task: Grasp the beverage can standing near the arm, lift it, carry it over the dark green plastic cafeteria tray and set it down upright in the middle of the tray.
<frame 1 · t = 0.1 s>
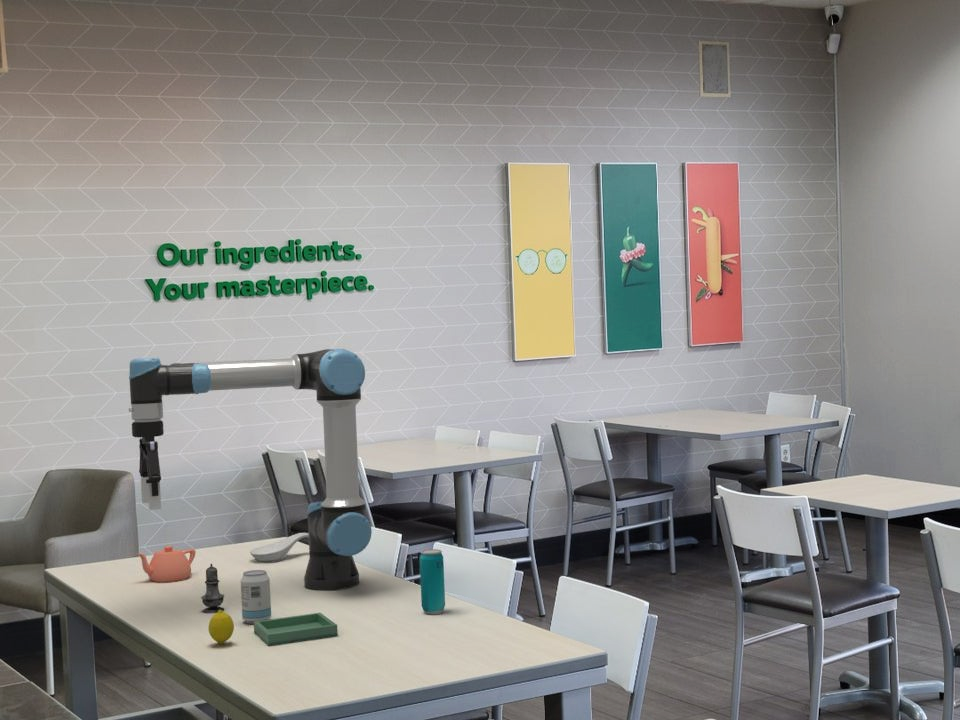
hand: (151, 506, 293), 28 cm above the table, fingers open, 13 cm apart
spoon rest: (288, 559, 369), on the table
fruit: (222, 645, 266), on the table
tray: (295, 634, 273), on the table
beverage can: (257, 622, 286), on the table
teapot: (167, 580, 342), on the table
salt shaker: (213, 611, 300), on the table
beverage can 2: (433, 613, 289), on the table
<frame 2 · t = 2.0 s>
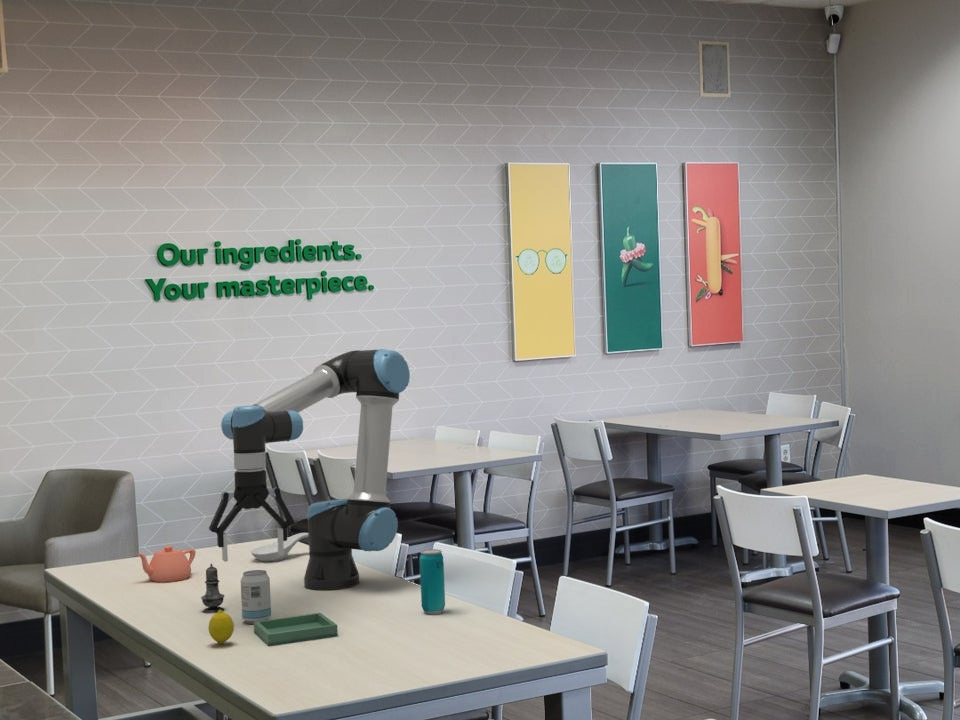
hand: (253, 557, 286), 16 cm above the table, fingers open, 13 cm apart
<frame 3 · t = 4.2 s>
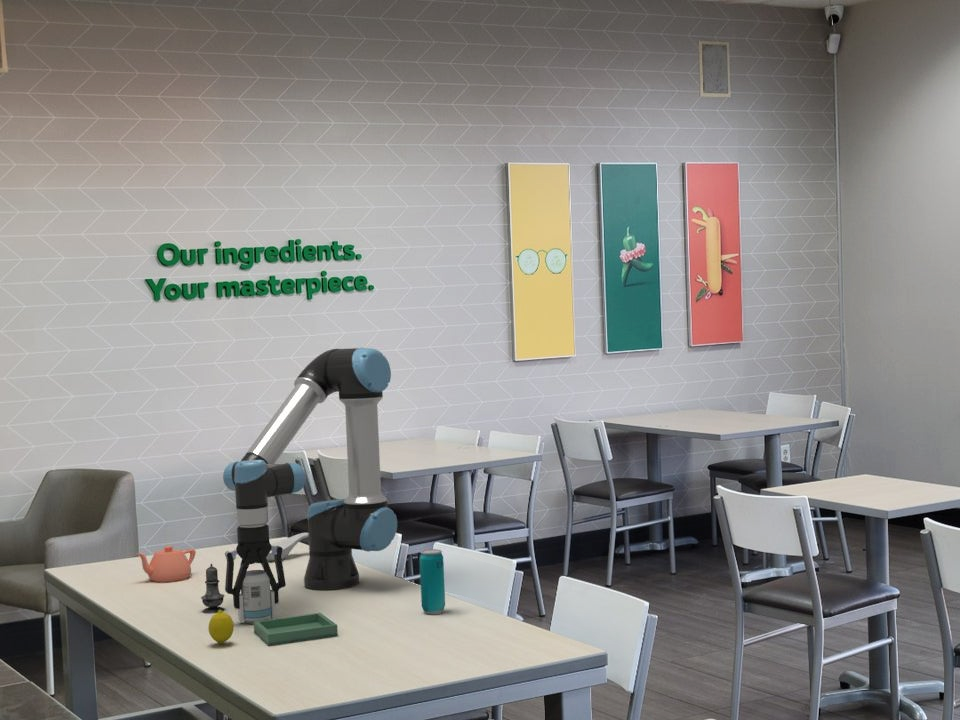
hand: (256, 619, 286), 1 cm above the table, fingers closed on beverage can, 7 cm apart
beverage can: (257, 622, 286), on the table, touching gripper
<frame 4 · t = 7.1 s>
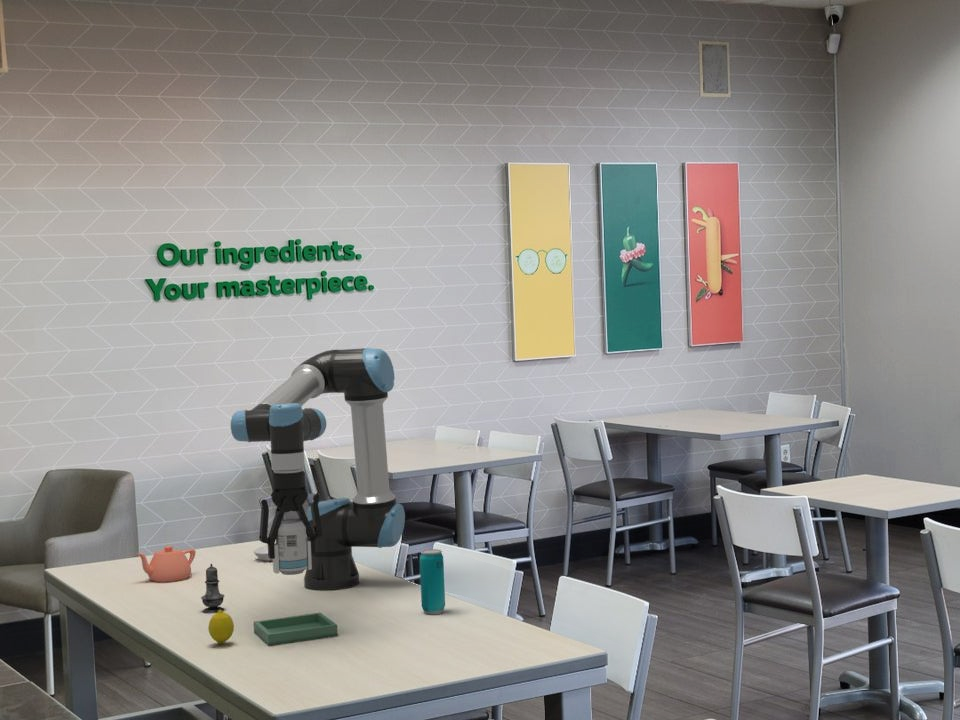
hand: (292, 570, 272), 15 cm above the table, fingers closed on beverage can, 7 cm apart
beverage can: (292, 573, 272), point 14 cm above the table, touching gripper
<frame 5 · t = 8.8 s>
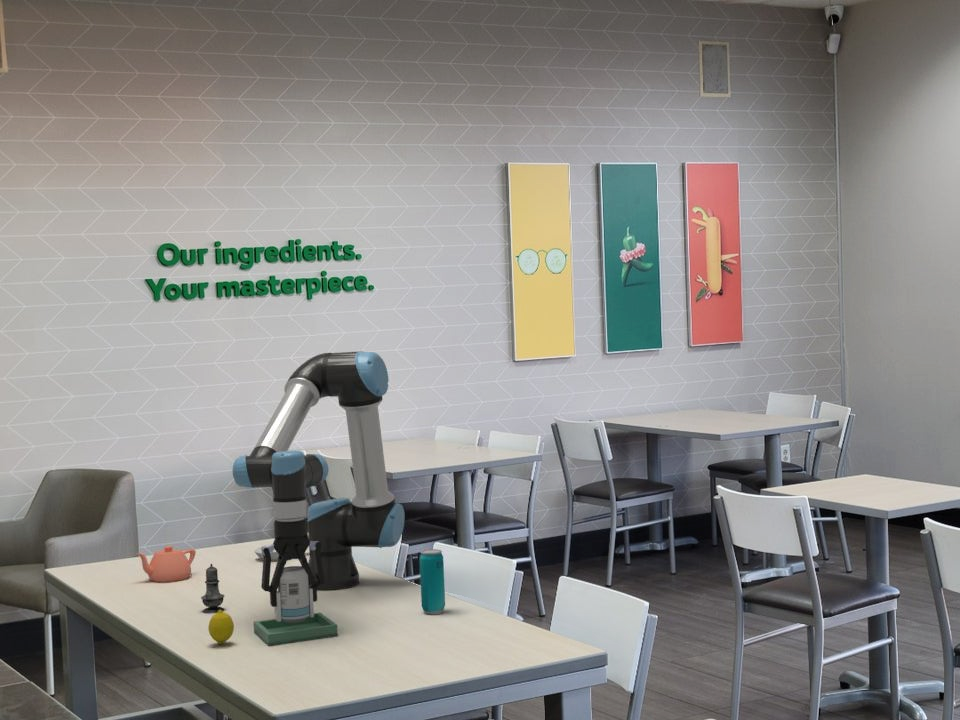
hand: (294, 617, 273), 4 cm above the table, fingers closed on beverage can, 7 cm apart
beverage can: (294, 621, 273), point 3 cm above the table, touching gripper
when the fingers open (2 cm above the table, at t = 10.0 s): beverage can moves 1 cm, resting on tray.
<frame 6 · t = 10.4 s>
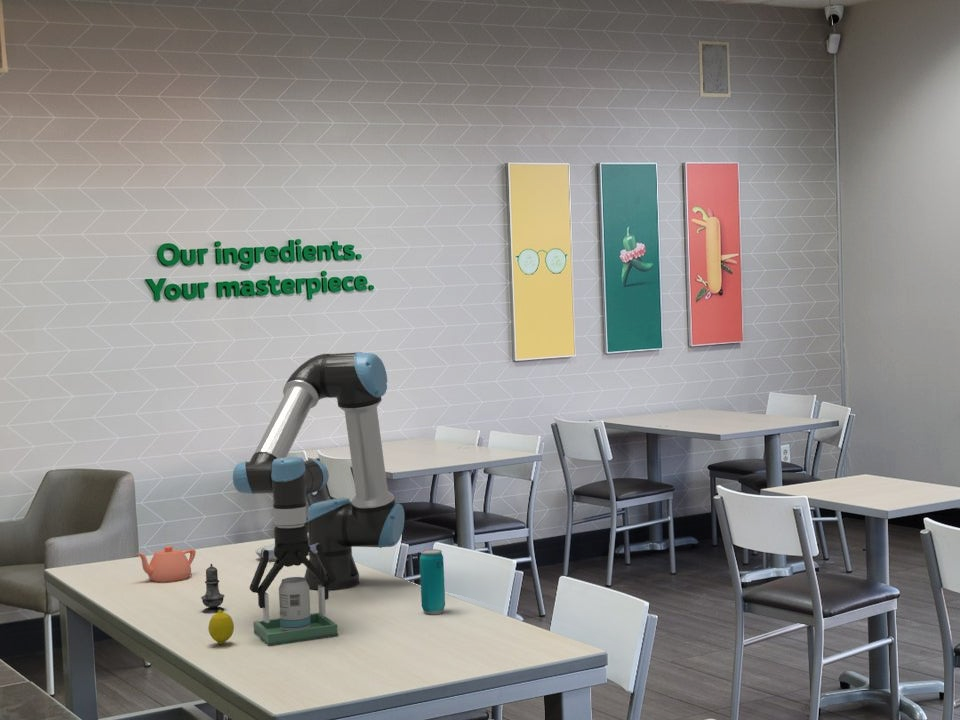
hand: (294, 617, 273), 4 cm above the table, fingers open, 12 cm apart
beverage can: (295, 632, 273), resting on tray
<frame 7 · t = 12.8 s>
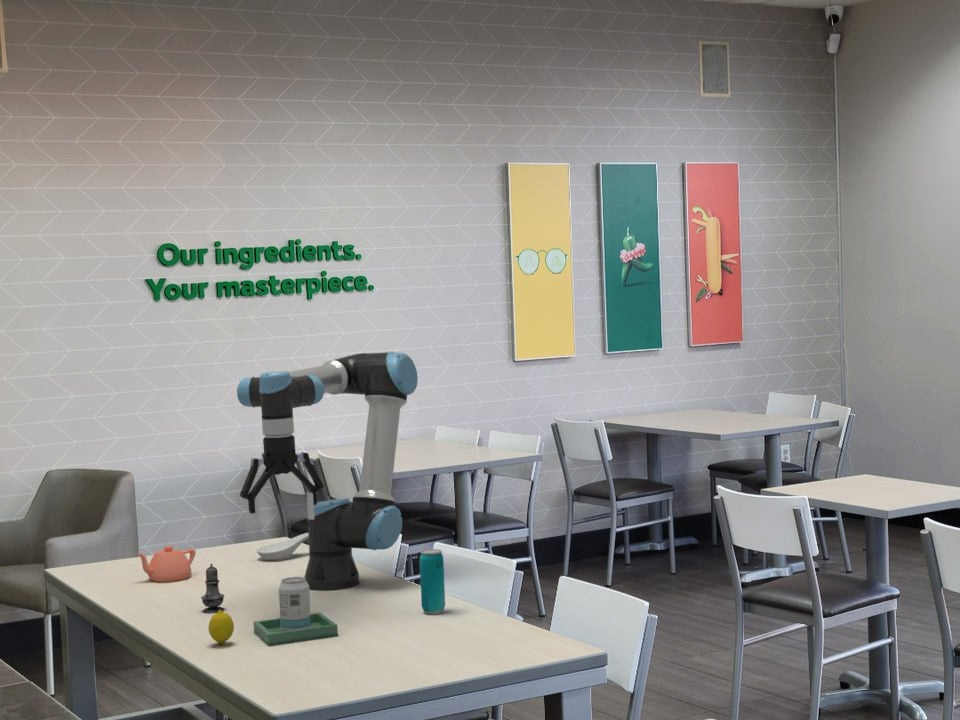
hand: (284, 522, 287), 23 cm above the table, fingers open, 13 cm apart
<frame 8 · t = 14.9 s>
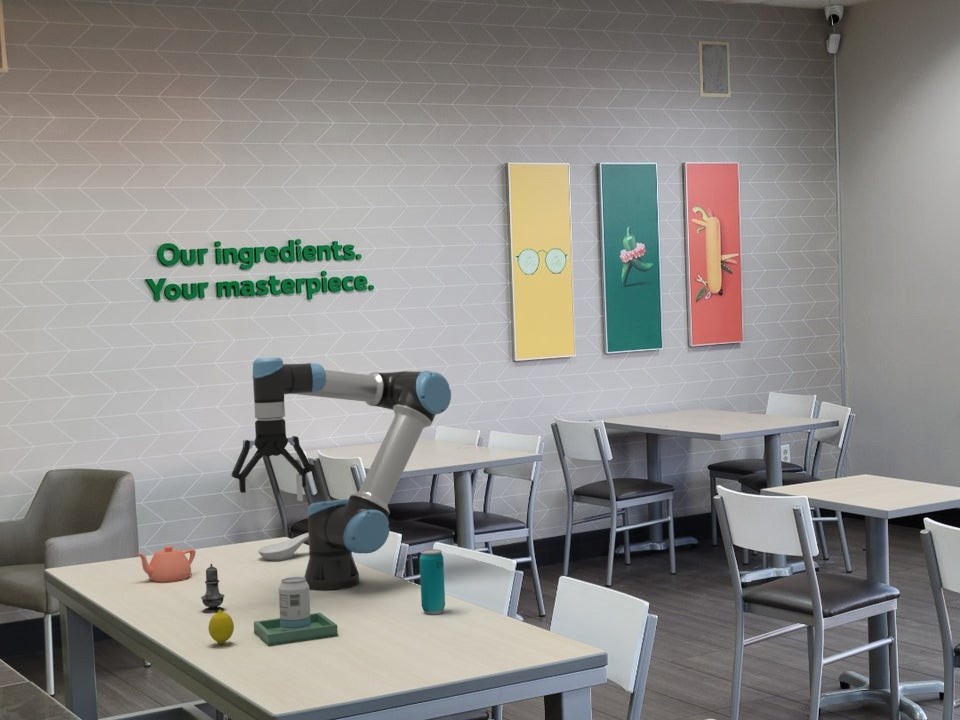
hand: (273, 503, 299), 27 cm above the table, fingers open, 13 cm apart
at the end: beverage can inside the target area on the tray (0.1 cm from its centre), point 0.4 cm above the tray's base; beverage can tilted 0°; the gripper is holding nothing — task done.
